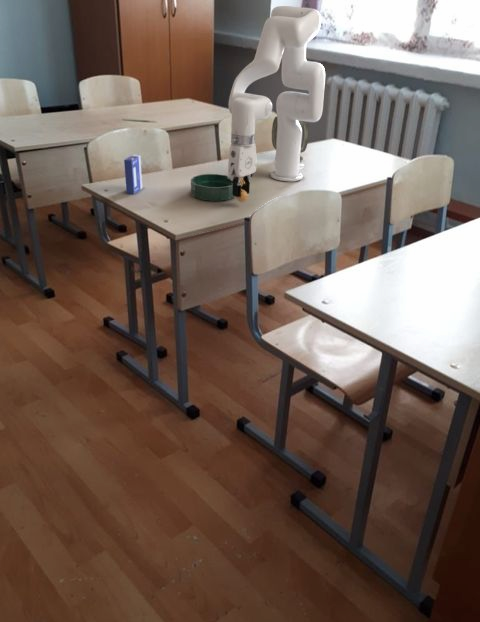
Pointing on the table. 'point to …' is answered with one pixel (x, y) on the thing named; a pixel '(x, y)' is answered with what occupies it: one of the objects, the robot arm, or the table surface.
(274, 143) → the tabletop clock
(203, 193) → the bowl
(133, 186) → the walkman
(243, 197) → the figurine
